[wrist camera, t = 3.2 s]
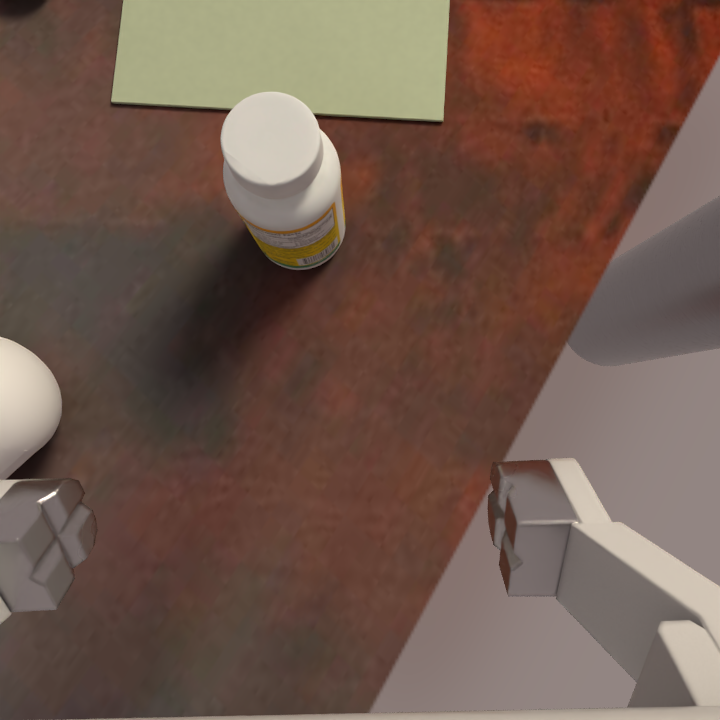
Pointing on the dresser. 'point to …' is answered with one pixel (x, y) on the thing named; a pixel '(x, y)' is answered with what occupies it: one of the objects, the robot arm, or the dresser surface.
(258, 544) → the dresser surface
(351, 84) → the mat
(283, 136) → the supplement bottle
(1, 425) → the mug
